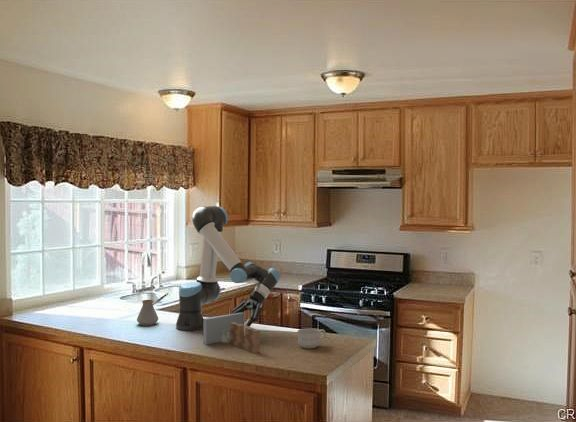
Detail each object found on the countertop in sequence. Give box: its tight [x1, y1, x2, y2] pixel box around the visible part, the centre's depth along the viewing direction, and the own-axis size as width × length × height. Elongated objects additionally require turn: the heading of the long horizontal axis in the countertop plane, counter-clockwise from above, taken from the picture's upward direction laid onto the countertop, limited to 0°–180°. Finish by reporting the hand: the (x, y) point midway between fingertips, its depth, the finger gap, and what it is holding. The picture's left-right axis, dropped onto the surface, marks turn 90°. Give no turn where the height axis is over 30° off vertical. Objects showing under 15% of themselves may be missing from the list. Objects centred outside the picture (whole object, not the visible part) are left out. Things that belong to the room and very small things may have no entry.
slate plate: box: [202, 312, 245, 346], centre depth 268 cm, size 2×22×12 cm, turn 129°
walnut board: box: [229, 322, 261, 354], centre depth 255 cm, size 20×2×10 cm, turn 40°
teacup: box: [297, 327, 327, 349], centre depth 257 cm, size 14×11×8 cm
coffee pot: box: [136, 292, 171, 327], centre depth 304 cm, size 21×12×15 cm, turn 146°
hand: (235, 328), depth 272 cm, fingers open, 13 cm apart
